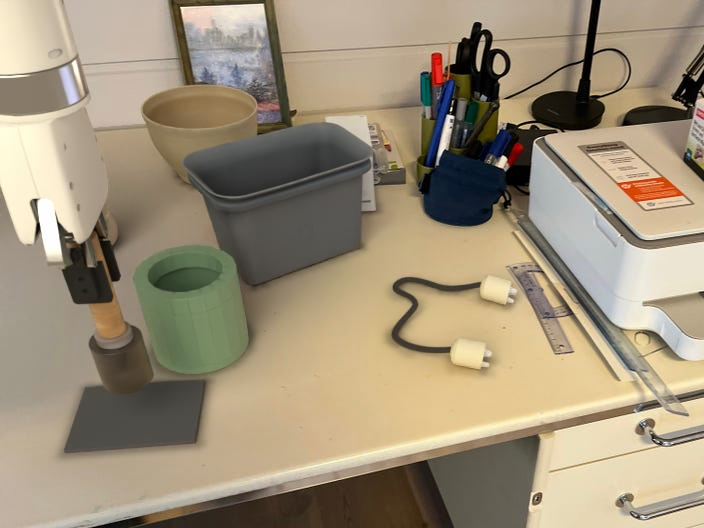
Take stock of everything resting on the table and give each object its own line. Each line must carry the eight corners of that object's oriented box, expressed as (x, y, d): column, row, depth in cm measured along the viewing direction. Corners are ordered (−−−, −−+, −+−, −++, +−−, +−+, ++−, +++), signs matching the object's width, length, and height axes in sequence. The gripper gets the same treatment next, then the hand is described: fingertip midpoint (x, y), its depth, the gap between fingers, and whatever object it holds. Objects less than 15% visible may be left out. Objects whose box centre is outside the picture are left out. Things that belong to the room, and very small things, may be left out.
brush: (98, 396, 71) (43, 252, 61) (108, 364, 74) (58, 223, 64) (149, 392, 72) (104, 249, 61) (157, 361, 75) (115, 221, 65)
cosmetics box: (328, 179, 117) (323, 114, 110) (370, 178, 118) (368, 113, 111) (331, 213, 109) (326, 145, 102) (376, 211, 110) (374, 144, 103)
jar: (147, 377, 81) (124, 302, 74) (162, 319, 88) (142, 246, 82) (245, 371, 82) (231, 297, 76) (251, 315, 90) (239, 243, 83)
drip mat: (64, 453, 72) (63, 450, 72) (86, 389, 79) (84, 387, 78) (195, 443, 74) (194, 440, 74) (205, 382, 81) (204, 379, 80)
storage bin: (239, 306, 91) (220, 200, 82) (187, 249, 100) (164, 147, 91) (386, 253, 102) (384, 154, 93) (328, 205, 111) (320, 111, 101)
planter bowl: (179, 209, 107) (163, 137, 100) (142, 164, 117) (125, 95, 110) (283, 183, 115) (275, 114, 108) (241, 143, 125) (231, 77, 118)
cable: (357, 352, 86) (355, 329, 84) (401, 276, 98) (400, 253, 96) (489, 379, 84) (491, 355, 81) (517, 297, 96) (520, 275, 94)
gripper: (6, 45, 60) (75, 244, 72) (-71, 130, 48) (26, 352, 60) (107, 45, 61) (157, 241, 73) (55, 128, 49) (126, 346, 61)
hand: (98, 289), depth 66 cm, fingers closed on brush, 2 cm apart
